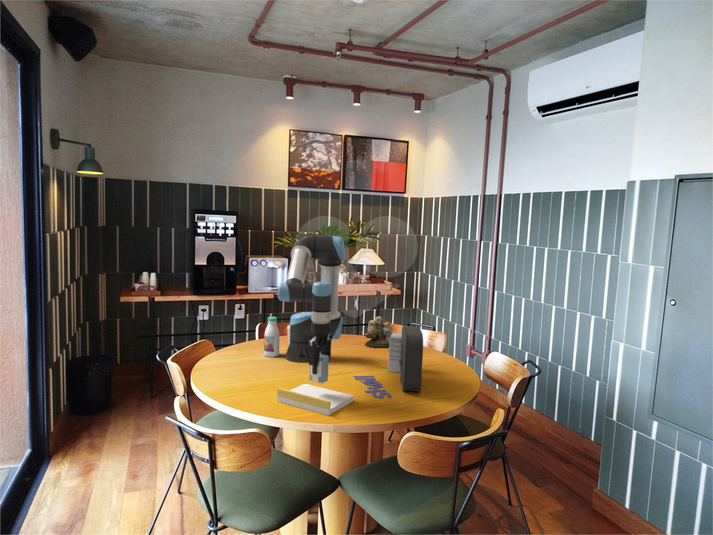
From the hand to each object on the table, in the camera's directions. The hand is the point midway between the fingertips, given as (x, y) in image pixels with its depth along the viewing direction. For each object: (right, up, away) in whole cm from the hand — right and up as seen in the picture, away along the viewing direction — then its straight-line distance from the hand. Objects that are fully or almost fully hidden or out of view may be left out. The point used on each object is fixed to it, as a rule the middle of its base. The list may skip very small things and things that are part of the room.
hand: (319, 380), depth 191 cm
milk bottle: (-29, -1, +60) cm, 67 cm away
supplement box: (+35, -5, +44) cm, 56 cm away
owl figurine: (+28, -1, +89) cm, 93 cm away
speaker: (+37, -7, +22) cm, 44 cm away
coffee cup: (-19, 0, +77) cm, 80 cm away
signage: (+21, -7, +18) cm, 29 cm away
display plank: (-1, -8, -1) cm, 8 cm away
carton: (0, 0, 0) cm, 1 cm away
